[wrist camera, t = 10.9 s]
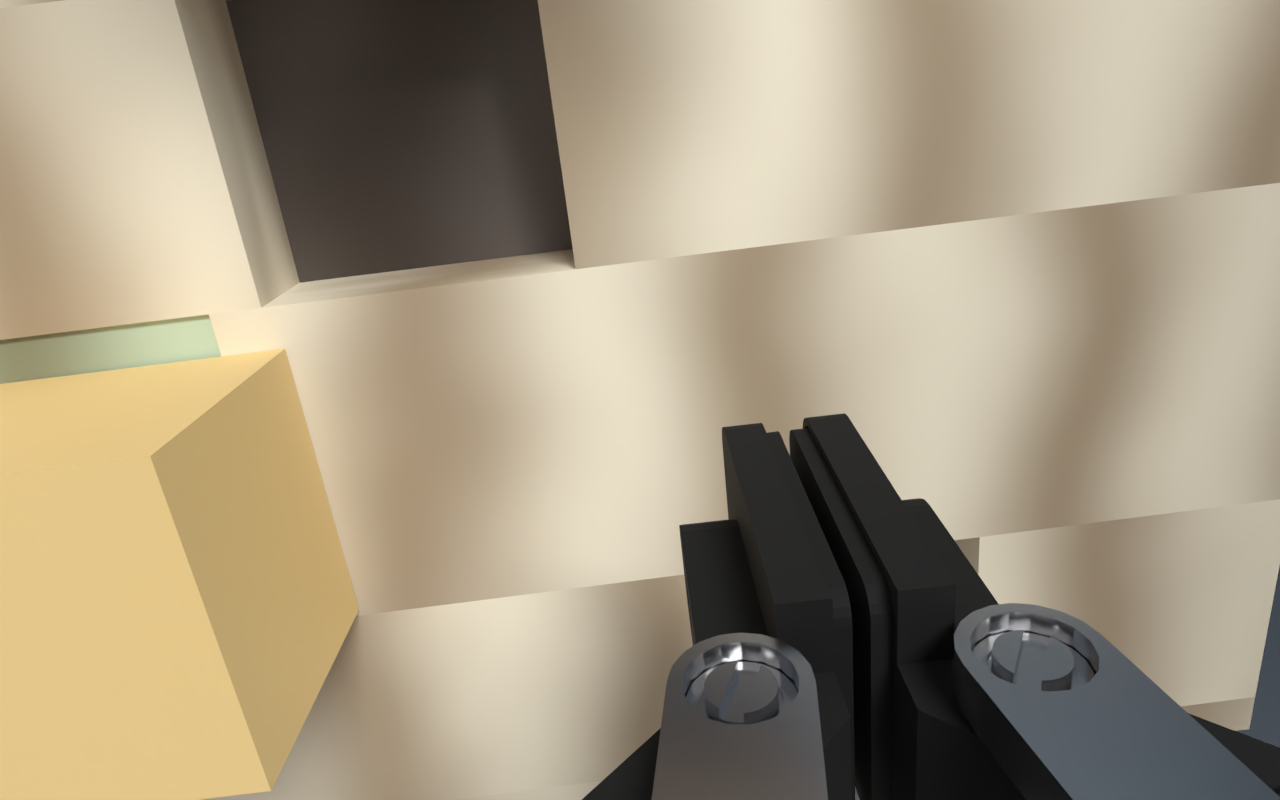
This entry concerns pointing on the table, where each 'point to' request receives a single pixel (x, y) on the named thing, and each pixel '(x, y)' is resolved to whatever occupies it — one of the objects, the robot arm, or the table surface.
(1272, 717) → the table surface
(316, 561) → the ochre block
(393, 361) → the cream sorting tray
